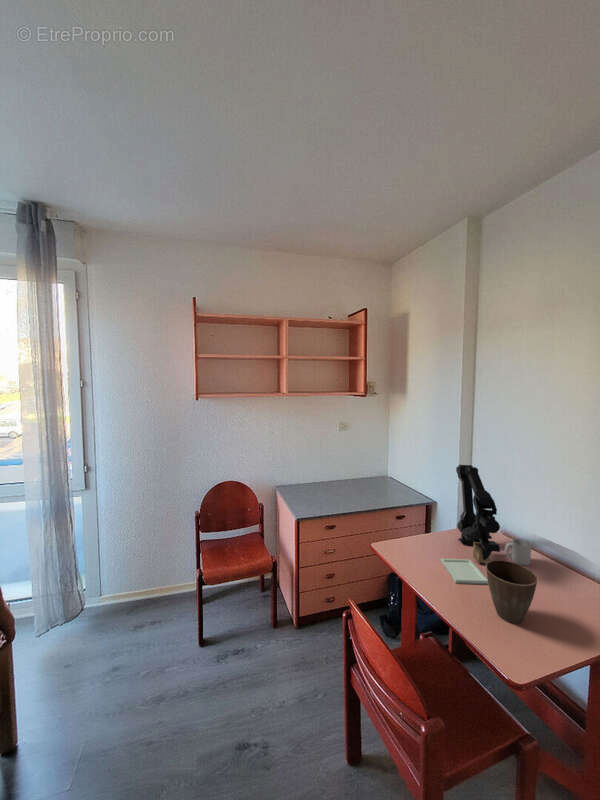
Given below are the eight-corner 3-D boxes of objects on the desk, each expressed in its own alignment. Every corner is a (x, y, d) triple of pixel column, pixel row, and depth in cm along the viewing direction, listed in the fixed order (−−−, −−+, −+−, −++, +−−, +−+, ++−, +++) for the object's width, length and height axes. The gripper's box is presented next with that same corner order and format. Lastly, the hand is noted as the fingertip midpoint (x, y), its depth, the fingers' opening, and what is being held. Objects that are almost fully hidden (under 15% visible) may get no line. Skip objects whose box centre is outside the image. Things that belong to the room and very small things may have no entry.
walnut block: (473, 556, 151) (473, 542, 150) (484, 557, 150) (484, 542, 150) (478, 562, 146) (479, 547, 145) (489, 563, 145) (490, 547, 145)
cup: (532, 567, 144) (533, 547, 144) (506, 562, 148) (506, 543, 147) (527, 559, 151) (528, 540, 150) (502, 554, 154) (503, 536, 154)
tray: (440, 561, 148) (440, 558, 148) (469, 562, 147) (470, 559, 147) (455, 583, 132) (456, 579, 132) (488, 584, 131) (488, 580, 131)
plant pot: (524, 639, 103) (527, 590, 102) (476, 612, 115) (478, 568, 114) (542, 619, 112) (544, 574, 111) (495, 596, 124) (497, 555, 123)
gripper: (455, 514, 157) (454, 545, 158) (474, 532, 138) (473, 567, 139) (479, 514, 156) (478, 546, 157) (501, 532, 138) (500, 568, 138)
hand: (481, 556), depth 148 cm, fingers closed on walnut block, 5 cm apart
